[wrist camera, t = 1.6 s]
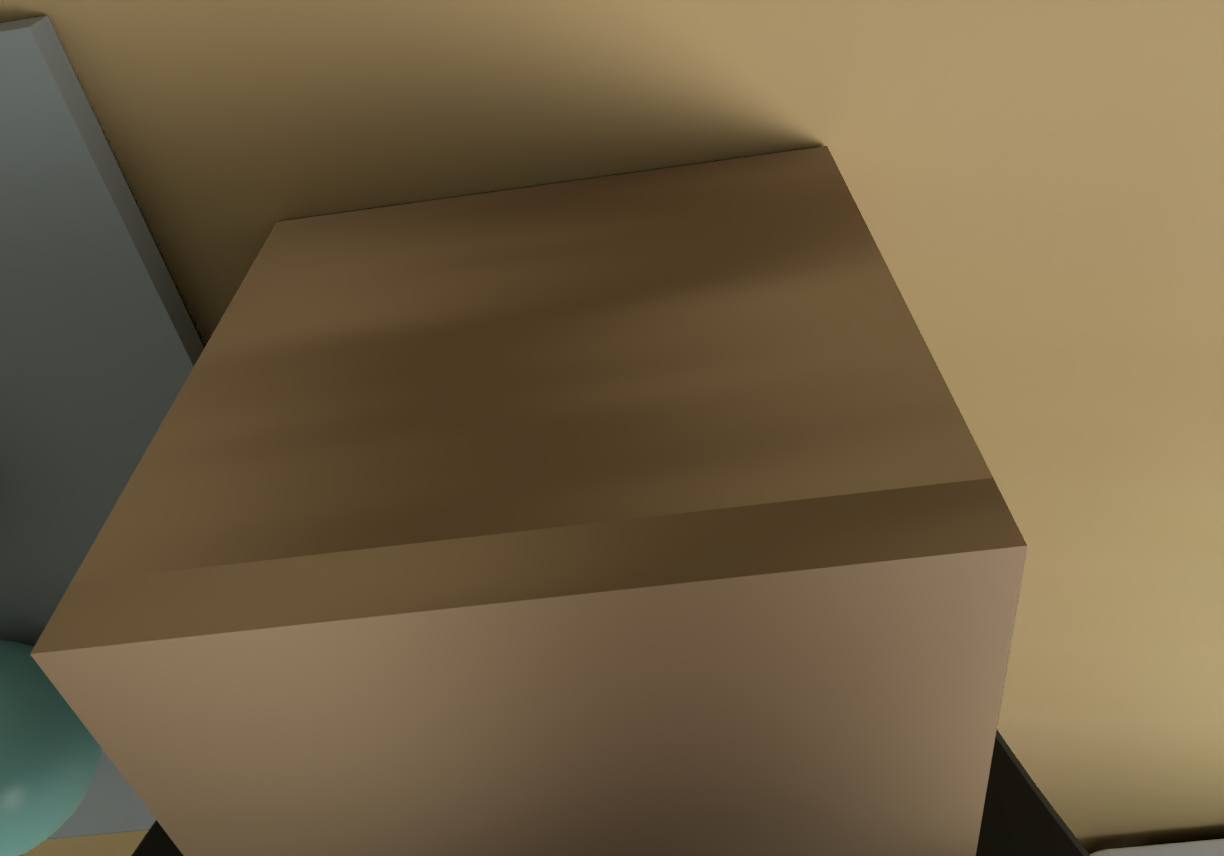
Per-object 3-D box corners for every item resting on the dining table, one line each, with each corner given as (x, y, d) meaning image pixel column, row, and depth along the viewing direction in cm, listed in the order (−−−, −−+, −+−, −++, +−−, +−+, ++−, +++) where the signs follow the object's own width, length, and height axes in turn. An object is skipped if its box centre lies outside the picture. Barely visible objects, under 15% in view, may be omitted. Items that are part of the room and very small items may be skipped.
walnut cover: (826, 146, 10) (1027, 545, 6) (829, 720, 16) (926, 1146, 12) (276, 221, 11) (29, 654, 6) (476, 755, 17) (431, 1180, 12)
